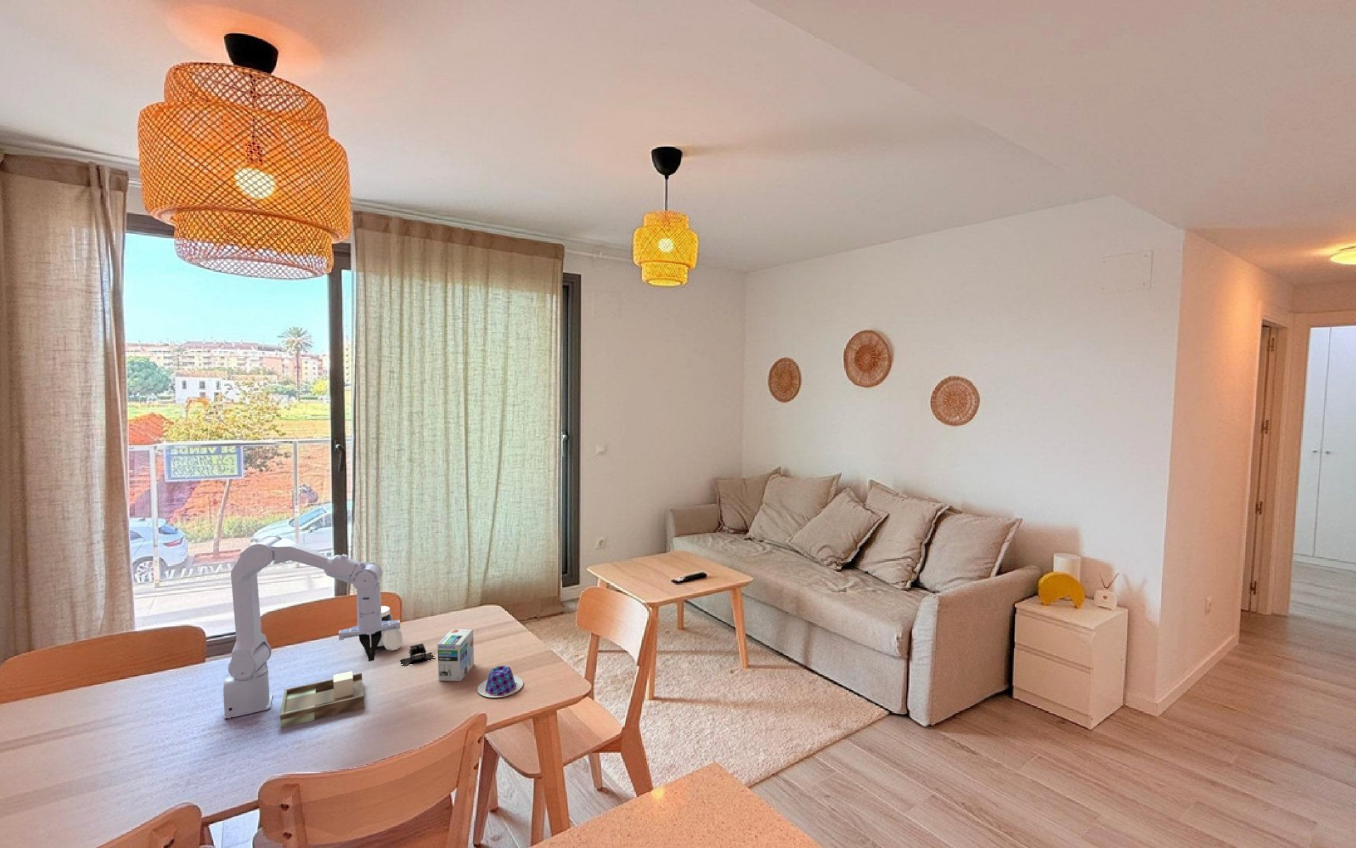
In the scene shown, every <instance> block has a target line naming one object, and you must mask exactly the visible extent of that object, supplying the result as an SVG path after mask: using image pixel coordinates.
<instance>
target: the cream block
mask: <svg viewBox="0 0 1356 848" xmlns="http://www.w3.org/2000/svg"><path fill="white" fill-rule="evenodd" d="M353 675H354V674H353V670H351V671H346V672H341V673H337V674H333V678H332V679H333V683H334V699H335V698H339V697H344V696H348V695H353Z"/></svg>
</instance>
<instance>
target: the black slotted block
mask: <svg viewBox="0 0 1356 848" xmlns="http://www.w3.org/2000/svg"><path fill="white" fill-rule="evenodd" d="M408 650H409V651H408V655H409V657H405V658H400V659H401V660H400V659H399V662H401V663H400V667H401V666H404V667H408V665H409V664H413V665H416V664H420V663H425V662H428V660H430V661H432V660H431V659H434V660H436V657H435V655H434V654H433V655H434V656H433V655H431V654H432V653H433V652H432V653H431V652H427V649H426V647H425V644H424V643H419V644H415V645H410V646H409V649H408ZM433 657H435V658H433ZM401 664H403V665H401ZM409 666H410V665H409Z"/></svg>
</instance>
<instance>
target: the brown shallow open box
mask: <svg viewBox="0 0 1356 848" xmlns="http://www.w3.org/2000/svg"><path fill="white" fill-rule="evenodd" d="M361 709H365V694H364V685H363V673H362V672H360V673H354V674H353V695H348V696H344V697H339V698H335V699H334V683H333V678H332V679H327V680H323V681H322V680H321V681H318V682H313V683H310V684H309V683H307V684H303V685H300V686H293V687H290V688H285V689H284V690H283V697H282V702H281V709H280V715H279V718H280V719H279V720H280V729H284V728H288V727H292V726H295V725H299V724H304V723H308V722H312V721H315V720H321V719H323V718H328V717H332V716H337V715H341V714H345V713H349V712H353V711H357V710H361Z"/></svg>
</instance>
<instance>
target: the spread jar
mask: <svg viewBox="0 0 1356 848" xmlns="http://www.w3.org/2000/svg"><path fill="white" fill-rule="evenodd" d="M390 612H391V608H390V606H386V605H381V615H382V621H394V618H393V615H392V614H391V613H390ZM381 633H382V637H381V640H380V642H379V644H378V646H377V649H376V651H381V650H384V649H386V650H388V651H391V652H392V651H395V650H396V651H397V650H398V649H399V648H400V647H401V646H402V644H403V640H404V639H403V633H402V631H401V629H398V630H396V629H393V630H387V631H382V632H381ZM369 635H370V651H371V634H369Z"/></svg>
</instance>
